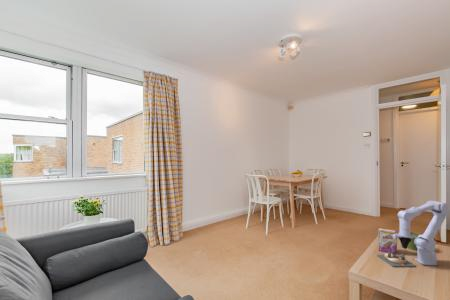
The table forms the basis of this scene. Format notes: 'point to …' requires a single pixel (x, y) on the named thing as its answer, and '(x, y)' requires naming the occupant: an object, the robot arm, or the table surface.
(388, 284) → the table surface
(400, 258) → the capstan wheel
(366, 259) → the table surface
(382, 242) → the candy bar box
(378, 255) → the stand
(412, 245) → the plant pot
